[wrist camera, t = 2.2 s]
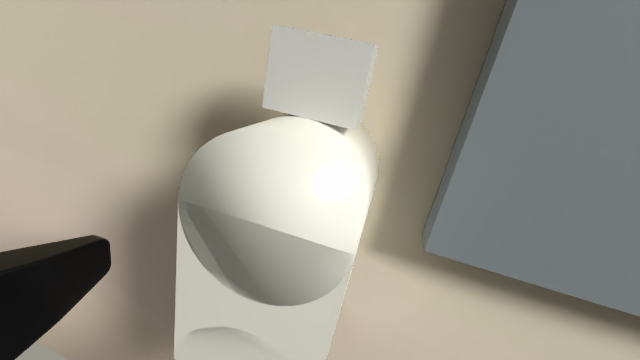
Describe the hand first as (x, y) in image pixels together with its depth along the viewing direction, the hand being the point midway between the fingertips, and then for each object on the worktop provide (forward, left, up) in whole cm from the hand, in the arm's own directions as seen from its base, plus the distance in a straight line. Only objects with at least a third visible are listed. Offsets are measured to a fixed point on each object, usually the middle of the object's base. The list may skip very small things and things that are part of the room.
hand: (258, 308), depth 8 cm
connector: (0, 0, -5) cm, 5 cm away
